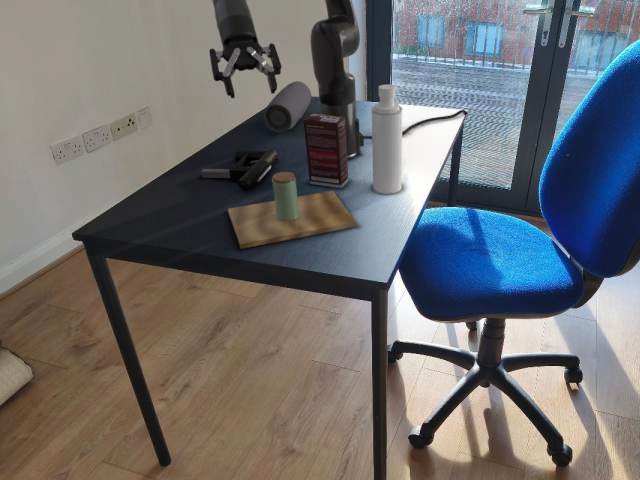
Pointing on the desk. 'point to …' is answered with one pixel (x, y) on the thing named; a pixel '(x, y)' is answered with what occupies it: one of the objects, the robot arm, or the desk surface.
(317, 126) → the supplement box
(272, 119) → the bluetooth speaker
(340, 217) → the oak board
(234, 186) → the desk surface
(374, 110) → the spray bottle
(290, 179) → the salt pot
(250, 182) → the door handle
